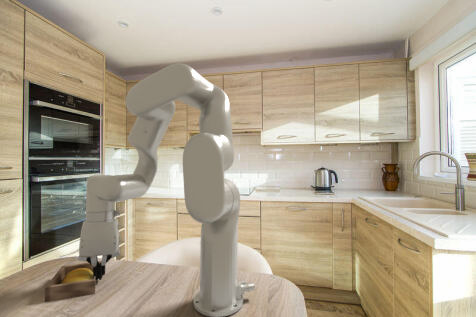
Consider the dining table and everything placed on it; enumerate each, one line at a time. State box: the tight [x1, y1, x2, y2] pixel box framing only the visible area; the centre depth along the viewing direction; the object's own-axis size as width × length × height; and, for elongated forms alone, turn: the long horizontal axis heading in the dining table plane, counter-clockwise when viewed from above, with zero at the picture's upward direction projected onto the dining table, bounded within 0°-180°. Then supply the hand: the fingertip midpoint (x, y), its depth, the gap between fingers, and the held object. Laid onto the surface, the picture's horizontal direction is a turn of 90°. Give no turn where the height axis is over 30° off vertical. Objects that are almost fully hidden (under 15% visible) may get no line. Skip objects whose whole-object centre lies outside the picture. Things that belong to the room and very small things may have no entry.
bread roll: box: [61, 268, 95, 284], centre depth 69 cm, size 8×9×4 cm
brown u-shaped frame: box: [44, 260, 102, 303], centre depth 69 cm, size 11×14×4 cm
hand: (99, 277), depth 71 cm, fingers closed
